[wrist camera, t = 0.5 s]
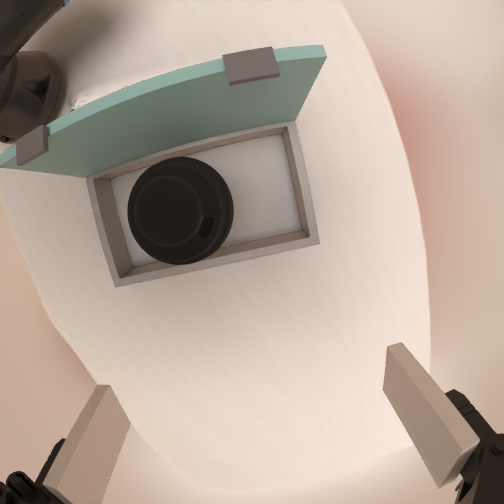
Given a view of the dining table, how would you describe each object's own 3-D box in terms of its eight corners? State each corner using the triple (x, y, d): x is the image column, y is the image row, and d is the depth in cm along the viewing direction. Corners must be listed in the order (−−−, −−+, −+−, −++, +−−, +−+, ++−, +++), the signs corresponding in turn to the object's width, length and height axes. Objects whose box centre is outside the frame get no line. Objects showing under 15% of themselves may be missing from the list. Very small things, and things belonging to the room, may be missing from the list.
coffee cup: (241, 234, 38) (237, 266, 24) (171, 240, 39) (129, 274, 24) (234, 161, 36) (227, 148, 22) (163, 170, 36) (115, 164, 22)
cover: (85, 187, 31) (82, 170, 31) (298, 130, 30) (293, 111, 30) (-9, 181, 15) (-10, 155, 15) (336, 67, 14) (325, 38, 14)
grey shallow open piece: (102, 173, 36) (85, 173, 31) (287, 124, 35) (293, 116, 30) (129, 275, 40) (115, 287, 35) (311, 235, 39) (319, 243, 34)
